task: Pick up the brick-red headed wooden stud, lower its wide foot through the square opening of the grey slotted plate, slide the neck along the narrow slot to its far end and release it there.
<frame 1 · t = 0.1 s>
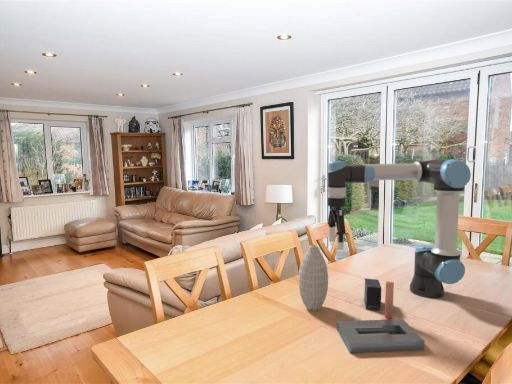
hand: (335, 245, 154), 28 cm above the table, fingers open, 13 cm apart
grey slotted plate: (377, 339, 129), on the table
vase: (313, 308, 156), on the table
stud: (388, 320, 144), on the table
small box: (372, 305, 159), on the table
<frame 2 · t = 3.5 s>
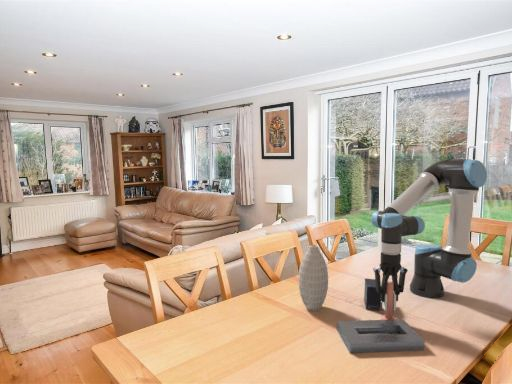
hand: (388, 308, 143), 5 cm above the table, fingers closed on stud, 3 cm apart
stud: (388, 320, 144), on the table, touching gripper
everything else where it was.
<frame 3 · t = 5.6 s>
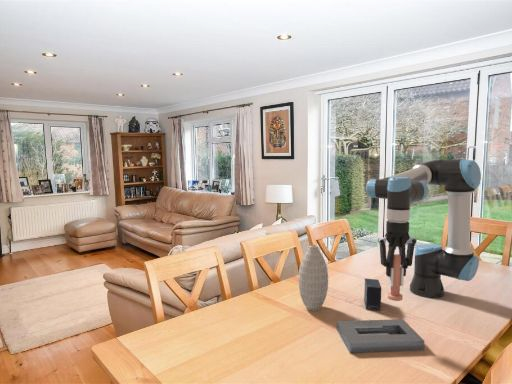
hand: (395, 284, 127), 21 cm above the table, fingers closed on stud, 3 cm apart
stud: (395, 298, 128), point 16 cm above the table, touching gripper
everything else where it was.
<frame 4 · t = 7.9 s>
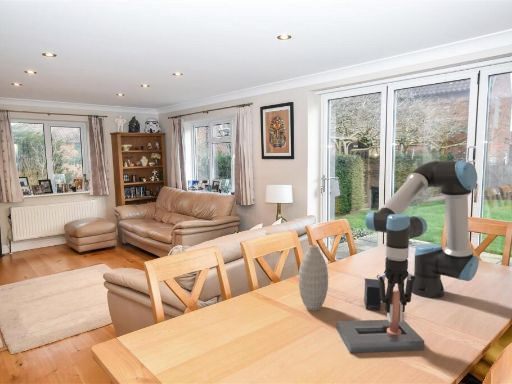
hand: (394, 320, 129), 7 cm above the table, fingers closed on stud, 3 cm apart
stud: (393, 333, 129), point 2 cm above the table, touching gripper
everything else where it was.
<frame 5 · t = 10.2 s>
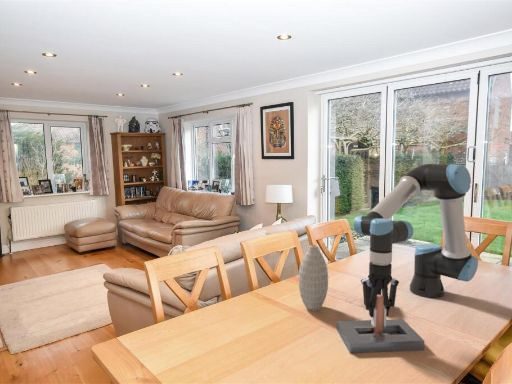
hand: (378, 324, 129), 6 cm above the table, fingers closed on stud, 3 cm apart
stud: (378, 338, 129), resting in grey slotted plate, touching gripper
everything else where it was.
when the fingers open (6 cm above the table, at t = 12.4 s): stud stays where it is, resting in grey slotted plate.
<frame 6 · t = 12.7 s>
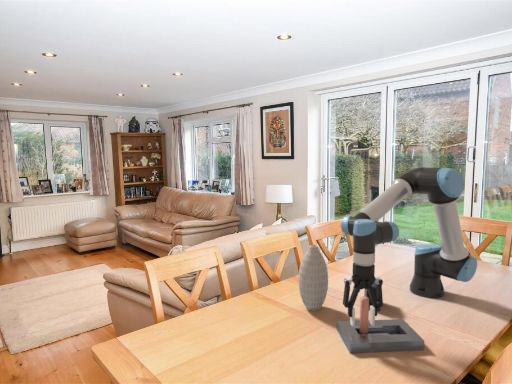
hand: (362, 324, 128), 6 cm above the table, fingers open, 7 cm apart
stud: (363, 340, 129), resting in grey slotted plate
everything else where it was.
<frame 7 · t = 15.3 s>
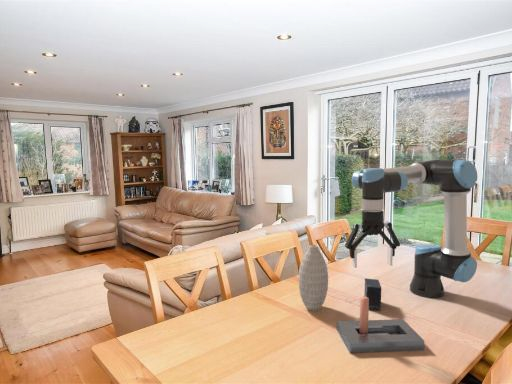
hand: (372, 265, 133), 26 cm above the table, fingers open, 13 cm apart
nothing on the table moved.
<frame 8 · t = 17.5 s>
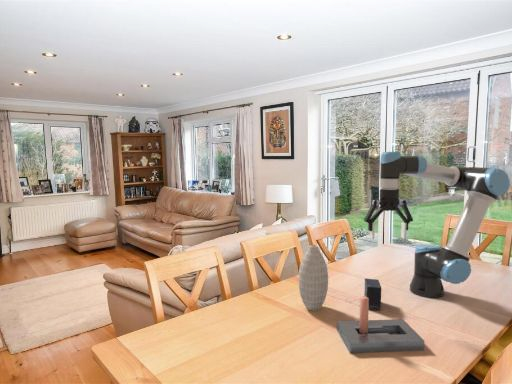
hand: (387, 238, 150), 32 cm above the table, fingers open, 13 cm apart
nothing on the table moved.
at the end: stud 0.4 cm from the target spot on the grey slotted plate, point 0.0 cm above the grey slotted plate's base; stud tilted 0°; the gripper is holding nothing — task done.
